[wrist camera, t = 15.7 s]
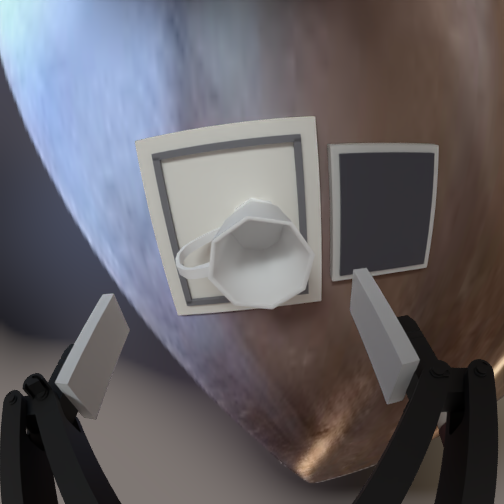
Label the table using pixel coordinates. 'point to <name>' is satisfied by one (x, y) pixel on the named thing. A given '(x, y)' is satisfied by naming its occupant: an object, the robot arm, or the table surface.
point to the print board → (229, 194)
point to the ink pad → (381, 206)
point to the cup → (253, 256)
